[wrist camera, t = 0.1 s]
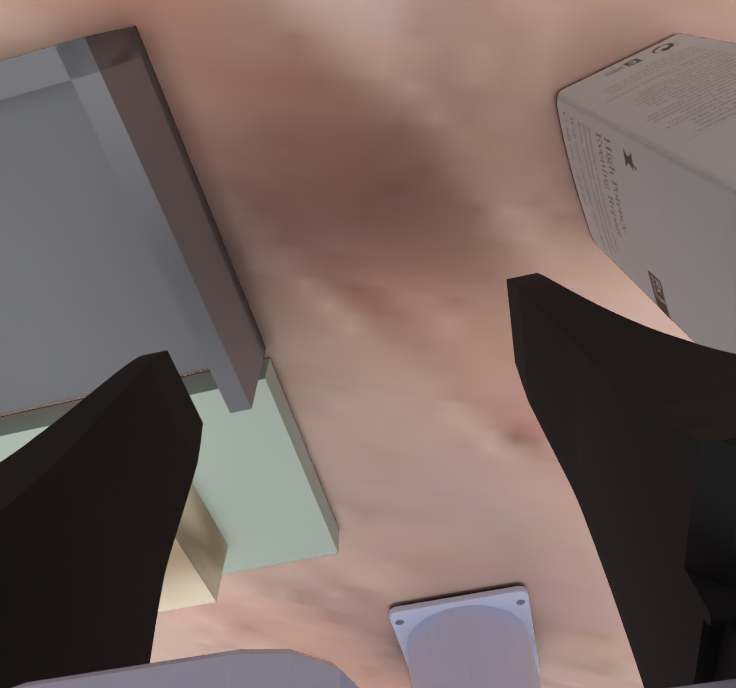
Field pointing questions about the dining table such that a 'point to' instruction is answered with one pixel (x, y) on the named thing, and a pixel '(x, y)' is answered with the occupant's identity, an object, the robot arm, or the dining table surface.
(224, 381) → the box
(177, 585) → the birch tile
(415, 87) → the dining table surface
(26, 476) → the robot arm
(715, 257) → the skincare box
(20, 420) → the far plate
